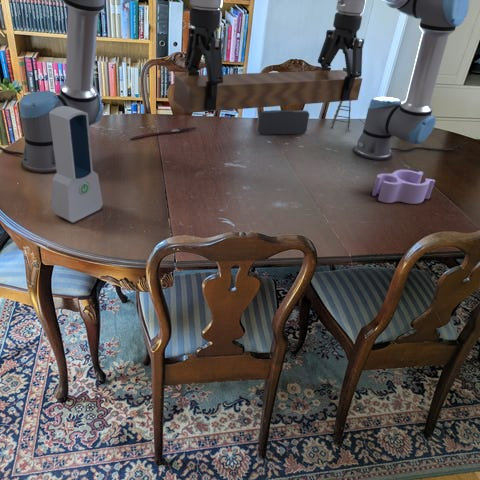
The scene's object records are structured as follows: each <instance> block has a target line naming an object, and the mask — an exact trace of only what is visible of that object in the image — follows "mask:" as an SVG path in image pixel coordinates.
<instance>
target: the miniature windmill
mask: <svg viewBox="0 0 480 480" xmlns="http://www.w3.org/2000/svg"><path fill="white" fill-rule="evenodd" d="M342 71H345V72H347V70H346V67H343V68H342ZM351 73H352V72H351ZM343 102H344V101H340V102H339V104H338V106H337V109H336V111H335V114H334V115H333V119H332V120H331V124H332V125H331V129H333V128H334V126H335V123H336V122H341V123H347V131H350V124H351V109H352V107H351V106H352V105H351V104H352V101H349V103H348V105H342V104H343ZM341 107H342V108H341ZM344 108H347V109H344ZM340 111H345V112H348V116H344V115H339V112H340ZM337 118H345V119H348V120H347V121H346V120H345V121H344V120H338V119H337Z"/></svg>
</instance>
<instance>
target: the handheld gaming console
mask: <svg viewBox="0 0 480 480" xmlns="http://www.w3.org/2000/svg"><path fill="white" fill-rule="evenodd" d="M258 114H259V115H258V123H257V132H258V133H259V135H265V136H266V135H293V134H294V135H297V134H298V135H300V134H305V133H306V132H307V130H308V123H309V118H310V113H309V111H308V110H303V109H301V110H299V109H284V110H283V109H281V110H273V109H272V110H271V109H270V110H262V111H260V112H259V113H258Z"/></svg>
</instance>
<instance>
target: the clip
mask: <svg viewBox="0 0 480 480" xmlns="http://www.w3.org/2000/svg"><path fill="white" fill-rule="evenodd" d="M423 175H424V171H420V170H419V171H414V170H412V169H411V170H410V169H397V170H394V171H393V172H392V173H379V174H377V175H376V179H375V182H374V186H373V189H372V193H371V196H373V197H376V196H377V195H378V198H377V201H379V202H381V203H387V204H392V203H395V202H402V203H404V204H405V203H406V204H413V205H416V204H421V203H423V202H424V201H425V200H429V199H430V197H431V194H432V191H433V188H434V185H435V182H436V180H435V179H433V178H425V179H424V182H422V183H421V181H422V177H423Z"/></svg>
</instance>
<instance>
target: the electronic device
mask: <svg viewBox="0 0 480 480" xmlns="http://www.w3.org/2000/svg"><path fill="white" fill-rule="evenodd" d="M49 117H50V124H51V132H52V140H53V147H54V155H55V162H56V170H57V171H56V172H55V174H54V175H53V177H52V180H51V209H52V212H53V214H55V215H57V216H58V217H60V218H62V219H64V220H66V221H68V222H69V223H72V224H73V223H75V222H77V221H79V220H81V219H84V218H85V217H88V216H89V215H92V214H93V213H96V212H98V211H100V210H101V209H102V207H103V204H104V202H103V196H102V191H101V186H100V181H99V180H100V178H99V174H98V172H96V171H94V169H93V168H94V166H93V157H92V145H91V132H90V125H89V120H88V113H86V112H83V111H80V110H77V109H74V108H71V107H67V106H60V107H57V108H55V109H53V110H52V111H50V112H49Z"/></svg>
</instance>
